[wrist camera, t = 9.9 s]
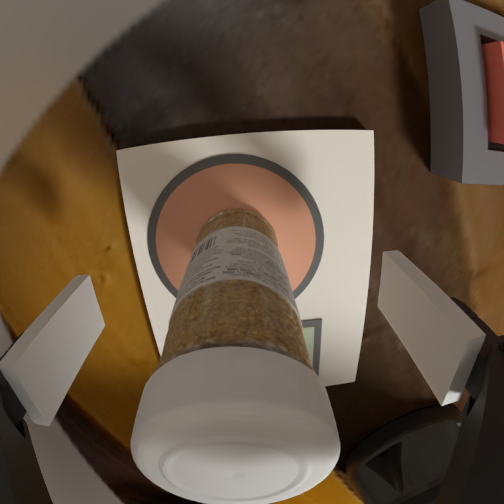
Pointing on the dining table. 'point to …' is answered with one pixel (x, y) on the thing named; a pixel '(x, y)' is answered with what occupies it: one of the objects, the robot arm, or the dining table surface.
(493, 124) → the button
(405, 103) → the dining table surface
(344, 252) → the picture board
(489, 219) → the dining table surface
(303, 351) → the spice jar
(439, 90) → the button housing
